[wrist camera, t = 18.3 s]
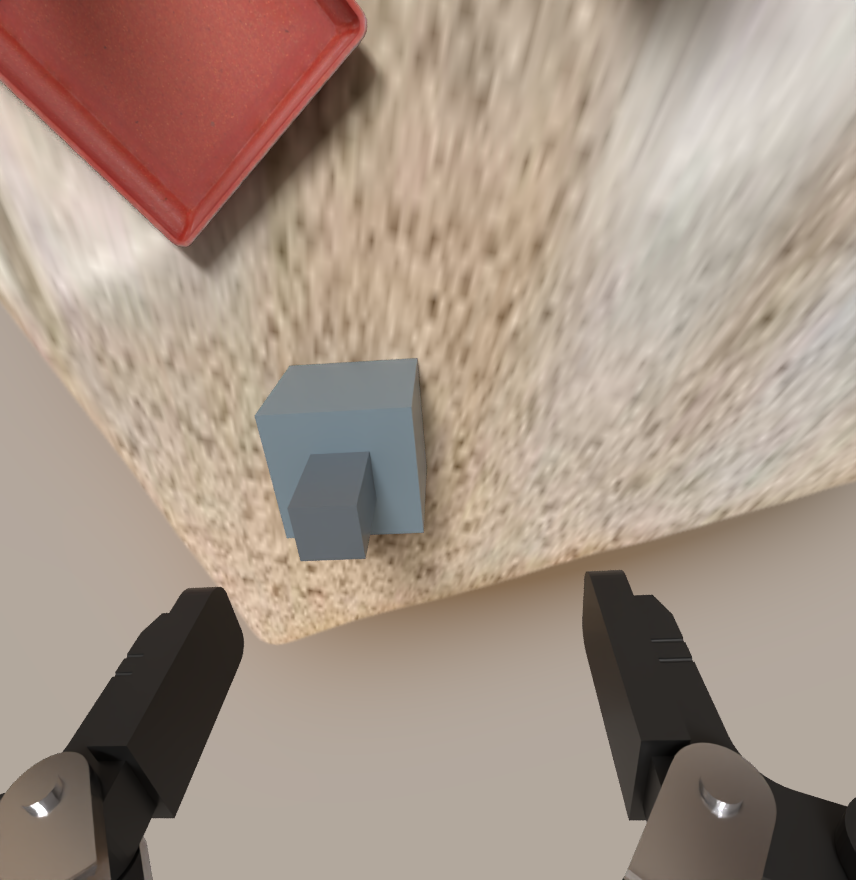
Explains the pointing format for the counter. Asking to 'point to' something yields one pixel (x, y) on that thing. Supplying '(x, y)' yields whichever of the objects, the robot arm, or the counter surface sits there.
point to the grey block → (346, 454)
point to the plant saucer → (173, 88)
